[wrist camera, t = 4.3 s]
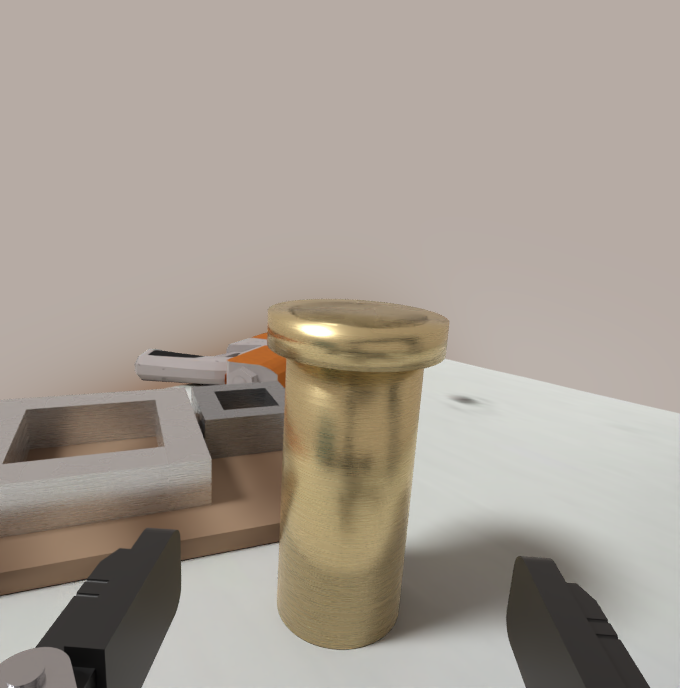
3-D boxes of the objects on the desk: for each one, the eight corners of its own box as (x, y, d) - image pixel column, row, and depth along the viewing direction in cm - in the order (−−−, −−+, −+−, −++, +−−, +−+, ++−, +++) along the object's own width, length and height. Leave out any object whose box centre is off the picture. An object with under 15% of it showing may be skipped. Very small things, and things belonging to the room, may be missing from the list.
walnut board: (276, 418, 40) (277, 405, 39) (358, 525, 26) (359, 508, 26) (2, 444, 33) (1, 429, 32) (-76, 609, 19) (-79, 587, 19)
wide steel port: (185, 422, 35) (184, 387, 35) (211, 504, 26) (211, 458, 25) (-4, 439, 31) (-8, 400, 31) (-59, 547, 21) (-66, 492, 21)
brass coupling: (372, 540, 25) (394, 298, 22) (447, 637, 20) (488, 330, 17) (243, 567, 23) (249, 299, 20) (286, 688, 17) (302, 336, 14)
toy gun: (128, 350, 45) (284, 369, 41) (235, 320, 63) (352, 332, 59) (130, 387, 46) (283, 410, 42) (235, 348, 64) (351, 361, 59)
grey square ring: (276, 413, 38) (277, 381, 37) (303, 447, 33) (305, 410, 32) (191, 421, 36) (191, 386, 35) (205, 460, 30) (205, 420, 30)
